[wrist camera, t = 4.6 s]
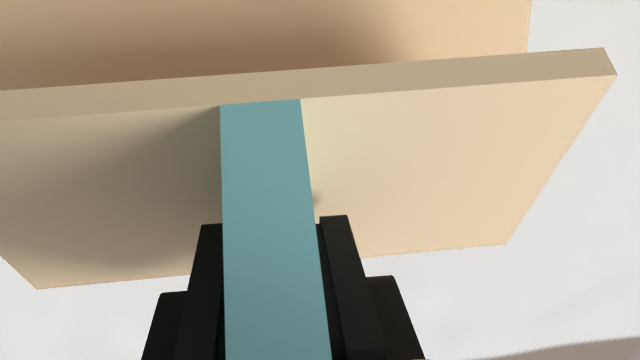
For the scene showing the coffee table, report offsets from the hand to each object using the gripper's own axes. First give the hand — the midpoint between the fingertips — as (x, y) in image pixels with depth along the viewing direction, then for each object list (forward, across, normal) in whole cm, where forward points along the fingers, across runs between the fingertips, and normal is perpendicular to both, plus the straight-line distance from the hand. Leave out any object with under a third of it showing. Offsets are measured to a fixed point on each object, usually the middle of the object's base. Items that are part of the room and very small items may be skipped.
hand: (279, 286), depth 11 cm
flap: (+1, 0, -2) cm, 2 cm away
